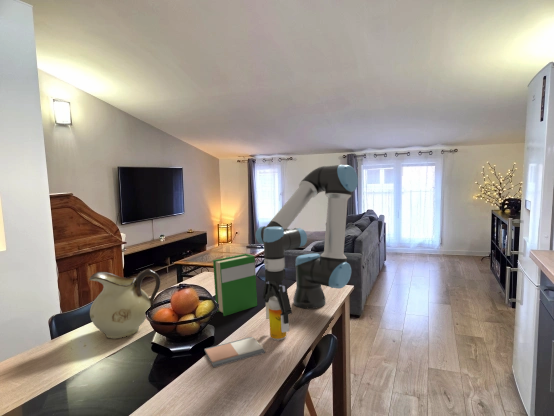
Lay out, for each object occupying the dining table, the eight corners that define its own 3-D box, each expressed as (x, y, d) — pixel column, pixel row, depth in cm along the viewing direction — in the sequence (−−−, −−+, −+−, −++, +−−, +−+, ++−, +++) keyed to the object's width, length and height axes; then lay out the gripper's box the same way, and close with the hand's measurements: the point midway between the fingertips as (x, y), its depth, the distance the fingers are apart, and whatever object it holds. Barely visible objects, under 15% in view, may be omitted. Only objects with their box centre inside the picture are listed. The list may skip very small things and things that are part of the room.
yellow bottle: (284, 341, 125) (282, 301, 124) (268, 340, 126) (266, 301, 125) (287, 333, 131) (285, 295, 129) (272, 333, 132) (270, 295, 131)
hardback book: (224, 316, 151) (220, 262, 149) (216, 311, 157) (213, 260, 155) (257, 305, 161) (254, 255, 159) (248, 301, 167) (246, 253, 165)
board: (252, 338, 128) (251, 335, 128) (264, 352, 117) (264, 349, 117) (204, 351, 120) (204, 347, 120) (213, 367, 110) (213, 363, 110)
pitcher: (79, 338, 135) (73, 276, 133) (128, 316, 156) (124, 262, 154) (119, 349, 125) (114, 282, 123) (165, 323, 146) (162, 266, 144)
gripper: (253, 263, 136) (255, 315, 137) (280, 278, 113) (283, 340, 115) (270, 261, 139) (272, 311, 141) (300, 275, 117) (302, 335, 118)
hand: (277, 324), depth 128 cm, fingers open, 13 cm apart
